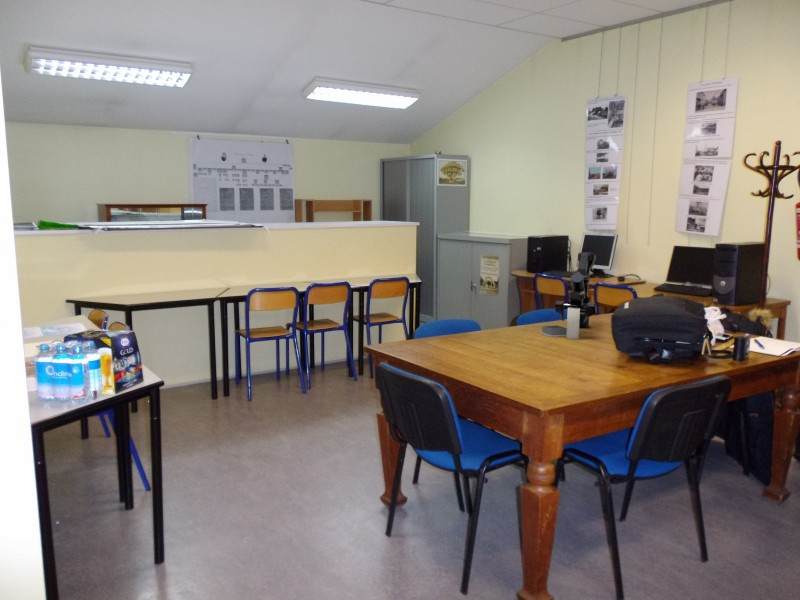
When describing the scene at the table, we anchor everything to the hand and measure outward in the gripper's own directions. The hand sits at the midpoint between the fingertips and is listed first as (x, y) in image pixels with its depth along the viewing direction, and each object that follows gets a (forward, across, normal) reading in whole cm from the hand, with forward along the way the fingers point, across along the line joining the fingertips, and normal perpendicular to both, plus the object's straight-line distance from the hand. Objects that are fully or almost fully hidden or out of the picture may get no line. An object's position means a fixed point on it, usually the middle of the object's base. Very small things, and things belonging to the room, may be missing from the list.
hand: (572, 321), depth 308 cm
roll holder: (+2, -9, +9) cm, 13 cm away
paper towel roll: (+5, 0, +6) cm, 8 cm away
